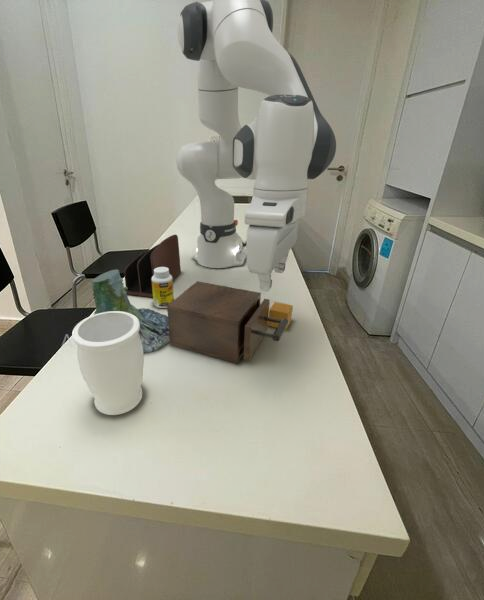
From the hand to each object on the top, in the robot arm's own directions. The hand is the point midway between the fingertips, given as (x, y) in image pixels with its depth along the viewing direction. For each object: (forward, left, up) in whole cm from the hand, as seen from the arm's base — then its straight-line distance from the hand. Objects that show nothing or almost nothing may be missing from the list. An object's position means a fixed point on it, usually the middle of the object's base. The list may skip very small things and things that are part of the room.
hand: (272, 280), depth 62 cm
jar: (+25, -20, -17) cm, 36 cm away
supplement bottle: (-9, -32, -17) cm, 37 cm away
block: (-12, -1, -16) cm, 20 cm away
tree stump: (+7, -31, -17) cm, 35 cm away
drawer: (0, -7, -15) cm, 17 cm away
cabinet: (0, -12, -16) cm, 20 cm away
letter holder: (-20, -42, -17) cm, 49 cm away
